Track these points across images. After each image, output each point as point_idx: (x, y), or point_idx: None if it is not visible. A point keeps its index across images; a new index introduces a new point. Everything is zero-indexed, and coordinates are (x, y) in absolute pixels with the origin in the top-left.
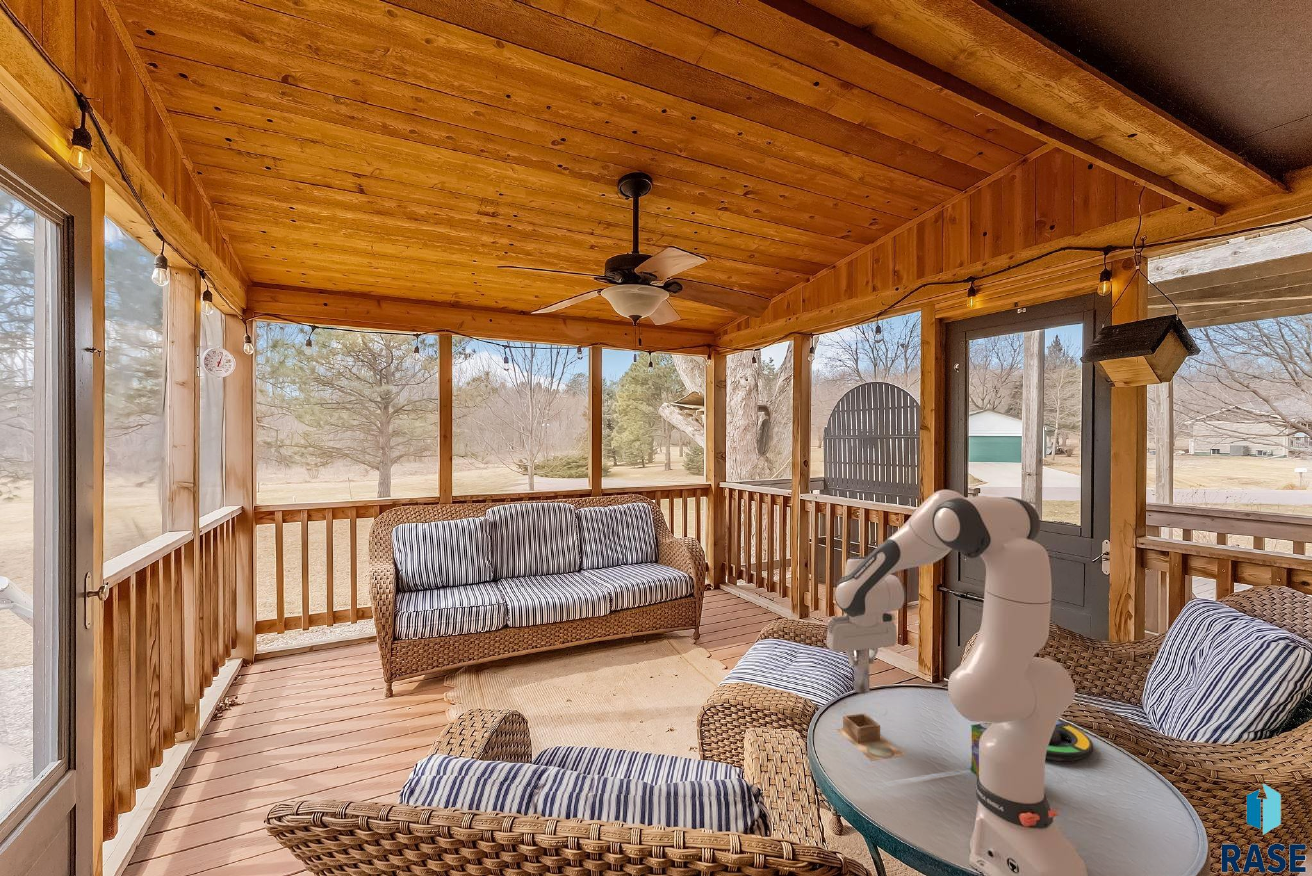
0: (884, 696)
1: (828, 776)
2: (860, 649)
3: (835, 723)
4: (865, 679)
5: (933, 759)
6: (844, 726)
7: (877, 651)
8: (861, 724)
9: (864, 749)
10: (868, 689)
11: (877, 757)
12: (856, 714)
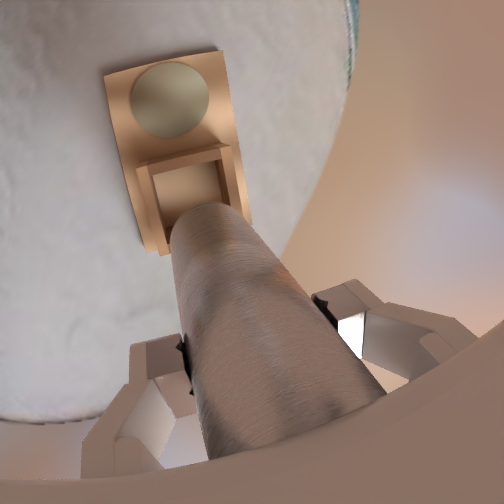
0: (64, 396)
1: (349, 29)
2: (391, 392)
3: None
4: (220, 229)
5: (29, 84)
6: None
7: (90, 440)
8: None
9: (215, 106)
10: (186, 216)
11: (195, 63)
12: None
